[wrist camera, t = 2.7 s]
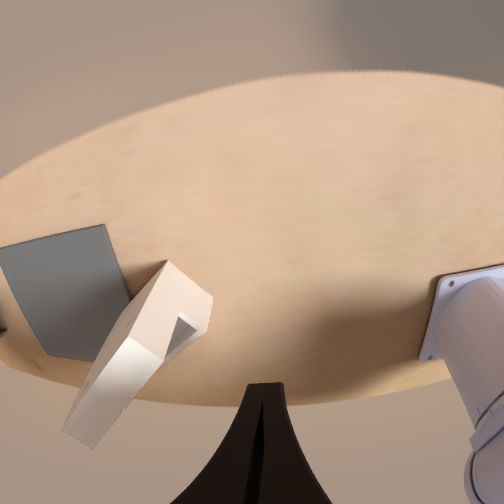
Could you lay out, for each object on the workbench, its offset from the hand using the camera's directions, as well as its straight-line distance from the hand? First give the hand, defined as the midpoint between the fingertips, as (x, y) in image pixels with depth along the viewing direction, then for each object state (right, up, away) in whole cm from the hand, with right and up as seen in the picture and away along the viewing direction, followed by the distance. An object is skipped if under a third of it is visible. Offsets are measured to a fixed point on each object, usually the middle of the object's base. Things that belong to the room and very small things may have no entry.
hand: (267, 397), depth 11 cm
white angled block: (-6, +3, +8) cm, 10 cm away
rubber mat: (-16, +2, +9) cm, 18 cm away
